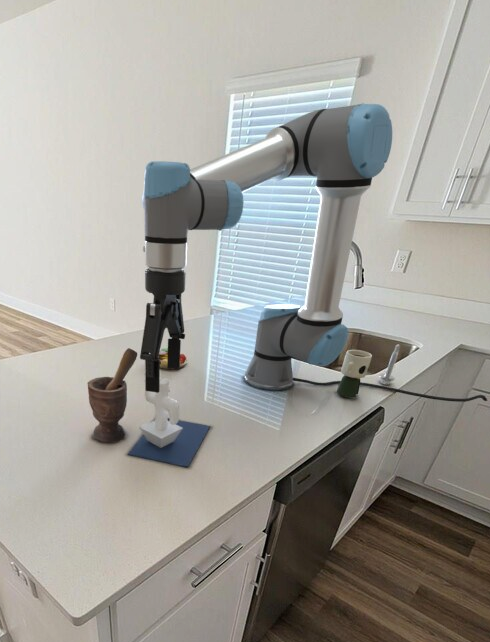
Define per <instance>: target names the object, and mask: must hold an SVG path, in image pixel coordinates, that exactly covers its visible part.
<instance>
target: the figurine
mask: <svg viewBox="0 0 490 642" xmlns="http://www.w3.org/2000/svg"><path fill="white" fill-rule="evenodd" d="M169 382H170V381H169V379H168V378H163V377H162V378H160V389H159V393H156V392H150V391H146V382H145V381H144V398H145V400H146V402H148V403H149V404H151V405H154V408H155V409H154V410H155V412H154V413H155V414H154V420H152V421H149V422H147V423H144V424H143V425H140V426H139V427H138V428H139V430H140V431H141V433H142V435H144V436H145V437H146V439H147V441H149V442H151V443H152V444H154V445H156V446H158V447H160V448H162V447H164V446H166V445H168V444H170V443H172V442H174V440H175V439H176V438H177V436H178V435H179V433H180V432H181V430H182V429H183V428H182V427H180V426H178V425H176V424H177V423H178V421H179V419H180V403H179V402H178V400H176V399H173V398H171V397H170V396H169V394H170V392H171V390H170V383H169ZM168 414H169V419H170V421H167V418H168Z"/></svg>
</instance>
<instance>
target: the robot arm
mask: <svg viewBox="0 0 490 642" xmlns="http://www.w3.org/2000/svg"><path fill="white" fill-rule="evenodd" d="M392 123H393V122H392V120H391V117H390V113H389V112H388V109H386V108H385V106H384V105H382V104H380V103H363V102H362V103H359V104H358V103H357V104H353V105H345V106H338V107H331V108H320V109H316V110H313V111H310V112H307V113H304V114H303V115H300V116H298V117H296V118H294V119H292V120H290V121H288V122H285V123H284V124H281V125H279V126H277V127H275V128H272V129H270V131H269V132H268V133H267V134H266V136H265V138H263V139H260V140H257V141H255V142H253V143H251V144H248V145H246V146H244V147H241V148H239V149H237V150H233V151H231V152H228V153H227V154H224V155H221V156H220V157H217V158H215V159H212V160H210V161H207V162H205V163H202V164H200V165H198V166H195V167H193V168H191V167H190V165H189V164H188V163H186V162H181V161H167V160H166V161H164V160H163V161H162V160H159V161H158V160H155V161H150V162H148V163H147V164H146V165H145V168H144V177H143V192H142V198H141V199H142V200H141V201H142V208H143V212H144V214H143V215H144V245H143V247H142V252H144V264H145V266H146V267H147V268H146V269H145V270H144V289H145V291H146V292H147V293H149V294H152V296H153V301H152V302H147V303H146V306H145V321H144V327H143V334H142V342H141V347H140V354H139V359H140V360H142V361H143V360H144V367H145V368H144V369H145V370H144V371H145V373H144V376H145V377H144V378H145V379H144V383H145V382H146V391H150V392H156V393H159V389H160V379H161V378H160V377H161V376H160V375H161V370H160V369H161V368H160V360H159V359H158V356H159V351H161V347H162V343H163V338H164V334H165V330H166V329H167V332H168V335H169V338H167V348H168V363H167V368H169V369H168V370H177V371H179V370H180V369H181V367H180V354H181V346H182V340H185V338H186V333H185V325H184V324H185V323H184V314H183V306H182V294H184V292H185V290H186V278H187V277H186V274H187V273H186V272H185V270H184V269H185V268H186V267H187V259H188V258H187V255H188V254H187V253H188V233H189V231H219V232H220V231H222V230H229V229H233V228H234V227H236V225H237V224H238V223H239V222H240V221H241V218H242V215H243V212H244V195H243V193H245V192H246V191H249V190H251V189H254V188H256V187H258V186H261V185H262V184H264V183H266V182H269V181H271V180H273V181H277V182H278V181H279V182H280V181H284V180H285V179H288V178H292V177H314V178H315V177H316V181H315V182H316V183H315V189H316V191H317V192H318V194H319V195H320V201H319V202H320V203H319V209H318V215H317V222H316V229H315V235H314V241H313V248H312V253H311V255H312V256H311V261H310V267H309V273H308V280H307V287H306V293H305V294H306V295H305V299H304V305H303V306H301V305H298V304H270V305H266V306H264V307H262V309H261V311H260V314H259V319H258V320H257V321H258V324H257V329H256V330H257V331H256V336H255V344H254V351H253V355H252V358H251V360H250V361H249V364H248V366H247V368H246V370H245V373H244V378H243V379H244V382H245V383H246V384H248V385H249V386H251V387H254V388H256V389H261V390H266V391H283V390H287V389H289V388H291V387H292V386H293V381H295V382H298V383H306V384H308V385H309V384H310V385H313V386H322V387H323V386H324V387H325V386H330V385H331V386H332V385H339V384H340V382H341V380H333V381H327V382H326V381H325V382H318V381H312V380H308V379H303V378H298V377H294V373H293V365H292V358H294V359H297V360H299V361H302V362H304V363H307V364H309V365H311V366H312V365H314V366H316V367H326V366H329V365H330V364H332V363H333V362H334V361H336V359H337V358H339V356H340V355H341V353H342V352H343V350H344V348H345V346H346V344H347V342H348V338H349V330H348V327H347V326H345V324H342V323H343V318H344V313H343V311H342V310H341V309H340V303H341V297H342V293H343V287H344V282H345V277H346V273H347V268H348V263H349V258H350V253H351V248H352V244H353V243H352V242H353V239H354V238H353V237H354V233H355V229H356V223H357V218H358V213H359V209H360V208H359V207H360V203H361V199H362V196H363V194H364V193H366V192H367V191H368V190H369V189H370V188H371V186H372V182H373V181H372V180H373V178H375V177H376V176H378V175H380V173H381V172H382V171H383V170H384V168H385V164H386V163H387V162H388V160H389V157H390V154H391V150H392V144H393V124H392ZM360 386H364V387H371V388H375V389H380V390H386V391H392V392H395V393H399V394H405V395H409V396H414V397H419V398H424V399H430V400H436V401H444V402H461V403H462V402H463V403H464V402H465V403H466V402H471V401H474V400H477V399H482V400H483V401H484V402H488V398H487V397H486V396H485V395H483V394H477V395H474V396H471V397H467V398H457V397H456V398H455V397H444V396H443V397H442V396H434V395H429V394H424V393H418V392H414V391H413V392H412V391H408V390H404V389H401V388H400V389H399V388H396V387H395V388H394V387H390V386H386V385H379V384H375V383H368V382H362V381H360Z"/></svg>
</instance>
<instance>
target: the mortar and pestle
mask: <svg viewBox="0 0 490 642" xmlns="http://www.w3.org/2000/svg"><path fill="white" fill-rule="evenodd" d="M137 358H138V352H137V351H135V350H134V349H132V348H130V347H129V348H128V347H127V348H126V350H125V351H124V352H123V355H122V357H121V359H120V362H119V364H118V368H117V370H116V372H115V374H114V376H100V377H99V376H98V377H94V378H92V379H90V380H88V381H87V384H86V385H87V392H88V393H87V394H88V403H89V406H90V408H91V411H92V416H93V418H94V419H95V420H96V421H97V422H98V425H96V426H95V427H94V429H93V439H94V440H97V441H100V442H103V443H114V442H118V441H121V440H122V439H123V438H124V437H125V436H126V432H125V429H124V427H123V426H122V425H121V424H120V423H119V422H120V421H121V420H122V419H123V417H124V416H125V412H126V409H127V403H128V384H127V382H126V381H125V380H124V379H126V376H127V374H128V372H129V371H130V370H131V368H132V367H133V366H134V365H135V362H136V360H137Z"/></svg>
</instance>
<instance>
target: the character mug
mask: <svg viewBox="0 0 490 642" xmlns="http://www.w3.org/2000/svg"><path fill="white" fill-rule="evenodd" d="M372 357H373V354H371V353H370V352H368V351H366V350H361V349H348V350H347V351H346V352H345V356H344V359H343V361H342V362H343V363H342V366H341V370H340V373H341V375H343V376H342V377H341V379H340V381H341V382H340V384H338V386H337V389H336V393H337V394H338V395H341V396H343V397H344V398H345V397H346V398H348V399H354V398H357V397H358V396H359V393H360V392H359V391H360V387H361V385H360V382H361V379H363V378H365V377H366V376H367V373H368V370H369V368H370V364H371V362H372Z"/></svg>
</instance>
